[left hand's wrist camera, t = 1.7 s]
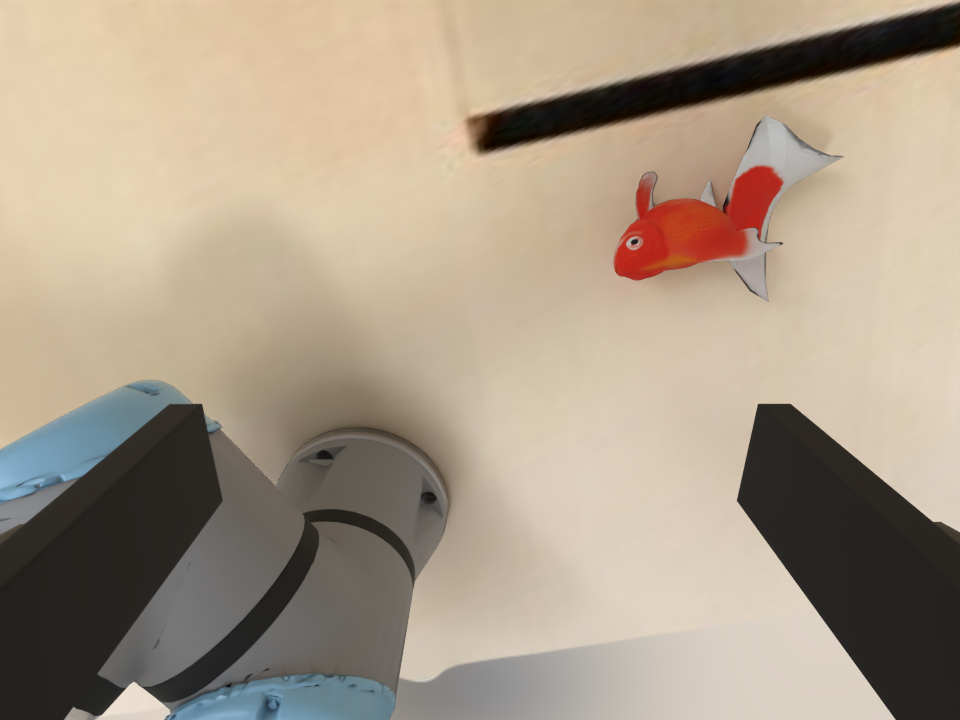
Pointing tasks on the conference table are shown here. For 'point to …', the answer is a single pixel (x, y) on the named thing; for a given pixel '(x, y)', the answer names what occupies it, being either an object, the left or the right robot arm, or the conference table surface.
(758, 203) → the fish
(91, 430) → the left robot arm
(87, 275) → the conference table surface
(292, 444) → the conference table surface
